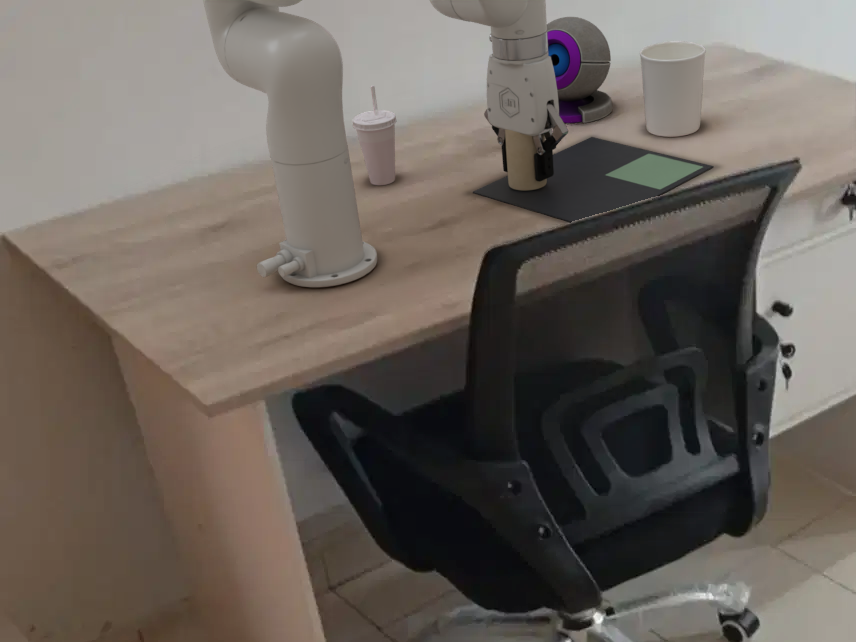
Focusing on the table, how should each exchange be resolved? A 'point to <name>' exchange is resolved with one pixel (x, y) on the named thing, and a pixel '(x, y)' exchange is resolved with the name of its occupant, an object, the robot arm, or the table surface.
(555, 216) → the desk pad
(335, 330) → the table surface
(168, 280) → the table surface
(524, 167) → the candle
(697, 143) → the table surface
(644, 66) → the candle holder
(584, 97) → the webcam
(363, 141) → the smoothie
